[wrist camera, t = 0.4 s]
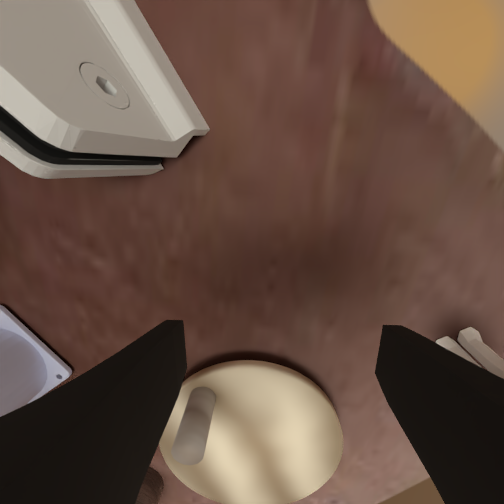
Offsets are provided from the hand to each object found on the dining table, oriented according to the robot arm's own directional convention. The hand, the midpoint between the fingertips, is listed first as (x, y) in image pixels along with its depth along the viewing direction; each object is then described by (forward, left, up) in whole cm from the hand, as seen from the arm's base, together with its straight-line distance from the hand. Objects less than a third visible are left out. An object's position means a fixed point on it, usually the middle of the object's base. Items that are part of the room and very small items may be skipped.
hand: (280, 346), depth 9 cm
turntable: (-10, -11, -9) cm, 17 cm away
